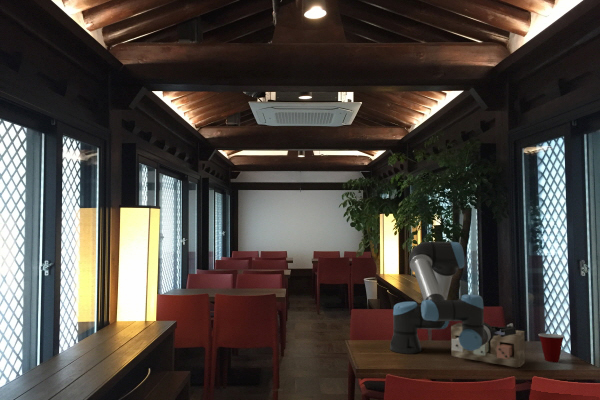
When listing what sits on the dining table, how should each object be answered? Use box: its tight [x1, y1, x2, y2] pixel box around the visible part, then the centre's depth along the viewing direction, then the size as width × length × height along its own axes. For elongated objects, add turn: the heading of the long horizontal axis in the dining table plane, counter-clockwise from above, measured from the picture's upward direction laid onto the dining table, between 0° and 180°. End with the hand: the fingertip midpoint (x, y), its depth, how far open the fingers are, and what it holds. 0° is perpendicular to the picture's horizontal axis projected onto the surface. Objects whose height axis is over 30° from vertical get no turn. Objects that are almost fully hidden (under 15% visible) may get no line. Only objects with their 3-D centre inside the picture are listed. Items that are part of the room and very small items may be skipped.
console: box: [450, 322, 526, 368], centre depth 217 cm, size 30×10×14 cm, turn 52°
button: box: [452, 337, 464, 352], centre depth 217 cm, size 5×8×5 cm, turn 142°
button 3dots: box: [497, 344, 513, 359], centre depth 205 cm, size 5×8×5 cm, turn 142°
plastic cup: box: [537, 333, 565, 363], centre depth 215 cm, size 11×11×12 cm
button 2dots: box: [474, 342, 489, 356], centre depth 211 cm, size 5×8×5 cm, turn 142°
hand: (497, 324), depth 197 cm, fingers open, 11 cm apart
